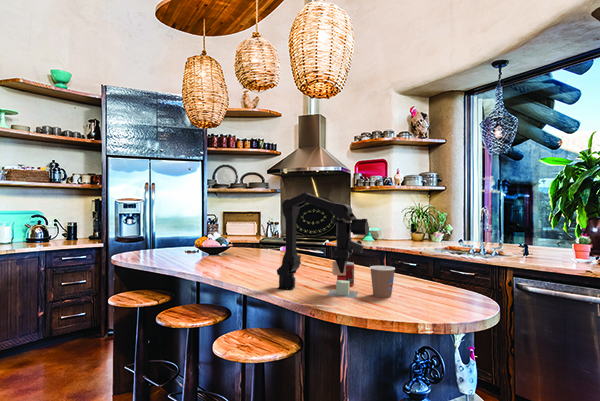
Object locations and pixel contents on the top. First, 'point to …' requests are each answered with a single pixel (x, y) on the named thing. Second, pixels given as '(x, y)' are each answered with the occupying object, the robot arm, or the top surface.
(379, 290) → the coffee cup
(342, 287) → the brick green
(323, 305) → the top surface
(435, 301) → the top surface
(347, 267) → the canned food
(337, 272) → the pinkish brown cube
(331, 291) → the baseplate
